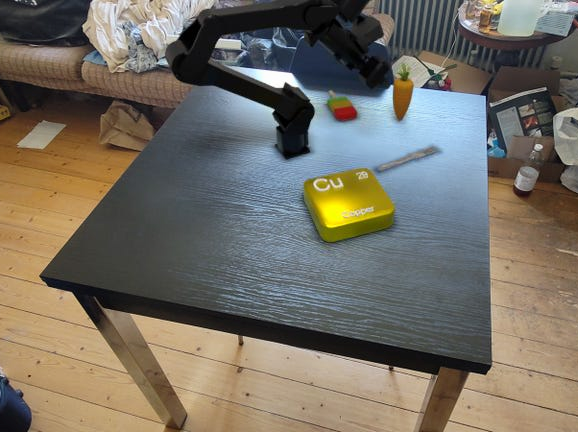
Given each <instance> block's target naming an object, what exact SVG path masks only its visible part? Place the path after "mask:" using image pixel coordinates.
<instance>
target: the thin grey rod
mask: <svg viewBox="0 0 578 432" xmlns="http://www.w3.org/2000/svg"><path fill="white" fill-rule="evenodd" d="M438 151H439V150H438V149H437V148H436V147H434V146H431V147H428V148H426V149H421V150H419V151H416V152H414V153H412V154H411V155H408V156H405V157H403V158H400V159H397V160H394V161H392V162H389V163H386V164H383V165H380V166H377V167H376V170H377V171H378V173H381V172H383V171H386V170H388V169H392V168H395V167H397V166H400V165H402V164H405V163H408V162H410V161H413V160H418V159H421V158H424V157H427V156H429V155H432V154H435V153H437V152H438Z"/></svg>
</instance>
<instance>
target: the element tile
mask: <svg viewBox="0 0 578 432" xmlns="http://www.w3.org/2000/svg"><path fill="white" fill-rule="evenodd" d="M302 188H303V190H302V193H303V202H304V204H305V206H306V208H307V210H308V212H309V215H310V217H311V219H312V221H313V223H314V225H315V227H316V230H317V232H318V235H319V236H320V238H321V239H322V240H323V241H325V242H328V243H333V242H334V243H335V242H338V241H344V240H346V239H350V238H351V239H352V238H354V237H359V236H363V235H366V234H371V233H374V232H378V231H382V230H386V229H389V228H391V227H392V226H393V224H394V222H395V221H394V219H395V211H396V206H395V204H394V202H393V201H392V199H391V198H390V196H389V195H388V194H387V191H386V190H385V189H384V187H383V186H382V184H381V183H380V182H379V180H378V179H377V177H376V176H375V174H374V173H373V171H372V170H371V169H369V168H367V167H359V168H355V169H350V170H345V171H339V172H336V173H330V174H326V175H322V176H316V177H313V178H308V179H306V180H305V181H304V182H303V185H302Z"/></svg>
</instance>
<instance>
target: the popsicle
mask: <svg viewBox="0 0 578 432" xmlns="http://www.w3.org/2000/svg"><path fill="white" fill-rule="evenodd" d="M328 94H329V95H330V96H331V97H332V98H328V99H327V100H326V103H327V105H328V108H329V109H330V110H331V112H332V113H333V115H334V116H335V118H336V119H337V120H338V121H341V122H342V121H348V120H354V119H356V118H357V117H358V111H357V108H355V106H354V105H353V103H351V101H350V100H349V99H348V97H347V96H339V97H337V96H336V94H335V93H334V91H333V90H328Z"/></svg>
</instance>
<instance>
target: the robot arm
mask: <svg viewBox="0 0 578 432" xmlns="http://www.w3.org/2000/svg"><path fill="white" fill-rule="evenodd" d="M370 2H371V0H271V1H268V2H260V3H253V4H245V5H236V6H229V7H220V8H204V9H202V10H201V11H200V12H199V13H198V14H197V16H196V17H195V19H194V20H193V21H192V22H191V23H190V24H188V26H187V27H185V28H184V29H183V30H182V31H181V33H180V34H179V36H178V37H177V39H176V40H173V41H171V42H170V43H169V44H168V45H167V47H166V48H165V52H164V57H165V61H166V62H167V65H168V67H169V68H170V70H171V73H172V75H173V76H174V78H175V79H176V80H177V81H178V82H180V83H182V84H185V85H186V84H187V85H191V86H196V87H216V88H218V89H220V90H222V91H223V90H224V91H226V92H229V93H231V94H234V95H237V96H239V97H241V98H244V99H246V100H249V101H251V102H255V103H257V104H259V105H262V106H265V107H267V108H270V109H271V110H272V109H273V111H272V113H271V115H272V117H273V119H274V121H275V122H276V123H277V124H278V125H277V126H275V133H276V134H275V135H276V143H275V144H274V147H275V149H276V150H277V151H278V153H280V155H281V156H282V157H283V158H284V160H289V159H290V160H291V159H293V158H296V157H299V156H302V155H305V154H308V153H311V148H310V147H308V146H309V143H310V142H309V129H310V126H311V123H312V120H313V119H314V118H315V115H316V109H315V106H314V104H312V103H311V99H310V98H309V97H308V96H307V94H306V93H304V92H303V90H302V89H301V88H300V87H299V86H293V85H291V84H289V83H288V82H286V81H284V84H283V87H275V86H273V85H271V84H268V83H266V82H263V81H261V80H260V79H256V78H254V77H251V76H249V75H248V74H245V73H243V72H240V71H237V70H236V69H233V68H231V67H229V66H226V65H224V64H222V63H220V62H217V61H216V60H214V59H213V58H212V56H213V53H214V50H215V48H216V46H217V43H218V42H219V40H220V39H221V37H222V36H229V35H236V34H243V33H250V32H255V31H257V32H258V31H262V30H263V31H265V30H268V29H276V28H282V29H283V28H284V29H290V30H293V31H303V42H304V43H305V44H306V45H307V46H308V47H310V48H313V47H314V46H315V45H316V44H317V42H318V43H319V44H321V46H322V47H323V48H325V49H326V51H328V54H329V55H330V56H331V57H333V58H334V59H335V60H336V61H337V62H338V63H340V64H341V65H343V66H344V67H346V68H347V69H348V70H349V71H350V72H352V71H353V70H357V71H358V75H357V78H358V80H359V81H360V82H361V83H363V85H365V86H366V87H367V88H368V89H369V90H374V89H375V88H377V89H382V90H383V89H384V90H389V89H390V88H391V82H390V81H389V79H388V76H387V74H388V72H389V71H390V70H391V64H389V63H388V62H387V61H386V60H385V59H384V58H382V57H381V56H379V55H378V54H375V55H371V56H368V55H367V54H368V53H369V52H370V51H371V48H370V46H371V45H372V44H374V43H375V42H377V41H378V40H380V39H382V38H384V36H385V32H384V30H383V26H382V23H381V21H380V20H379V19H377V18H376V17H374V16H373V15H372V16H371V15H370V16H369V15H366V16H364V15H362V14H361V13H362V12H363V11H364V10H365V8H366V7H367V6H368V4H369V3H370ZM338 18H339V19H340V20H341V21H342V22H343V23H345V24H347V23H350V24H352V29H348V28H347V27H345V26H344V25H343V24H342V22H340V21H339V20H338Z"/></svg>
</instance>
